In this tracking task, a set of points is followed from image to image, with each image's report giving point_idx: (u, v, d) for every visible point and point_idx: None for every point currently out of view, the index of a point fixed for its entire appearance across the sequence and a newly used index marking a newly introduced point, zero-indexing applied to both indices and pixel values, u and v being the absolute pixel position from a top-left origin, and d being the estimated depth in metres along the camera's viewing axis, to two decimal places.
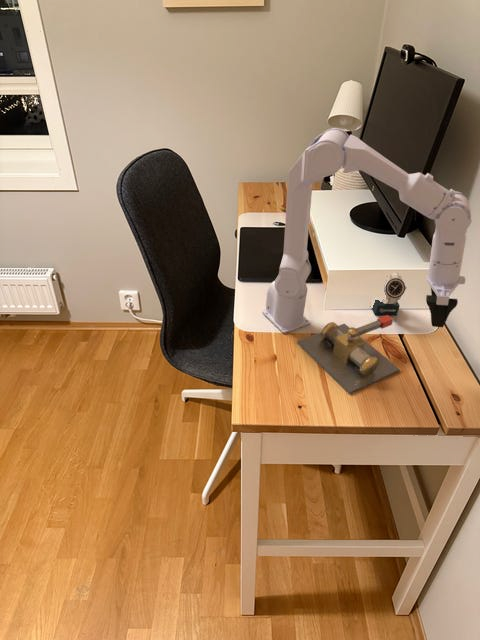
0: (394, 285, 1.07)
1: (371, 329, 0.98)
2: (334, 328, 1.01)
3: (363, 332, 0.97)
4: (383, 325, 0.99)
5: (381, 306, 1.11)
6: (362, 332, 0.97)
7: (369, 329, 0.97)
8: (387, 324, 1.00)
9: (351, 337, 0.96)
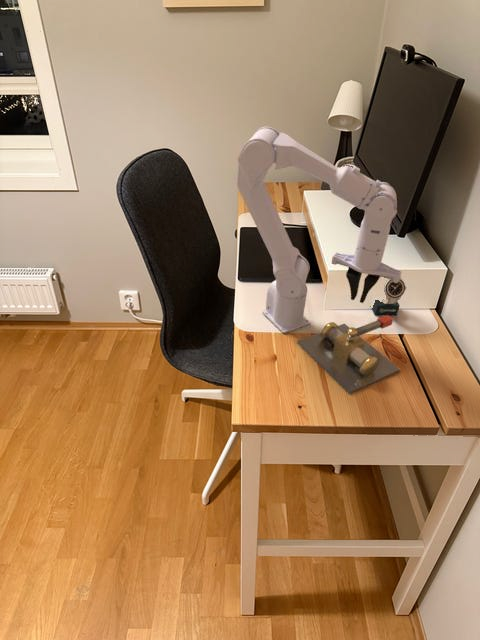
0: (394, 285, 1.07)
1: (371, 329, 0.98)
2: (334, 328, 1.01)
3: (363, 332, 0.97)
4: (383, 325, 0.99)
5: (381, 306, 1.11)
6: (362, 332, 0.97)
7: (369, 329, 0.97)
8: (387, 324, 1.00)
9: (351, 337, 0.96)
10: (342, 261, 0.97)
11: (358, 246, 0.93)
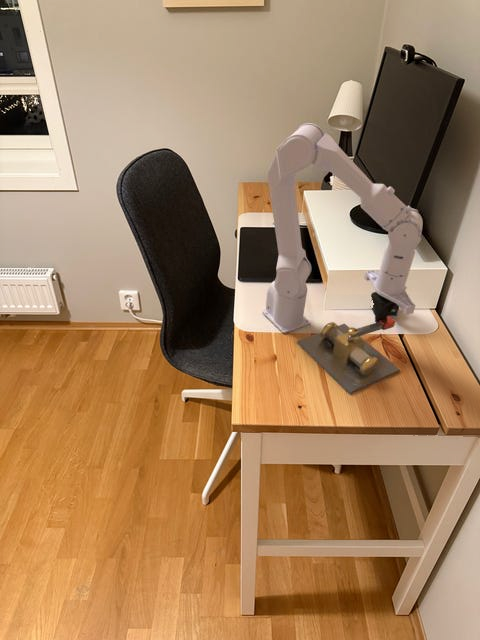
0: None
1: (372, 330, 0.98)
2: (334, 328, 1.01)
3: (363, 333, 0.97)
4: (385, 326, 0.99)
5: None
6: (362, 333, 0.97)
7: (369, 330, 0.97)
8: (389, 326, 0.99)
9: (351, 337, 0.96)
10: (370, 278, 0.99)
11: None
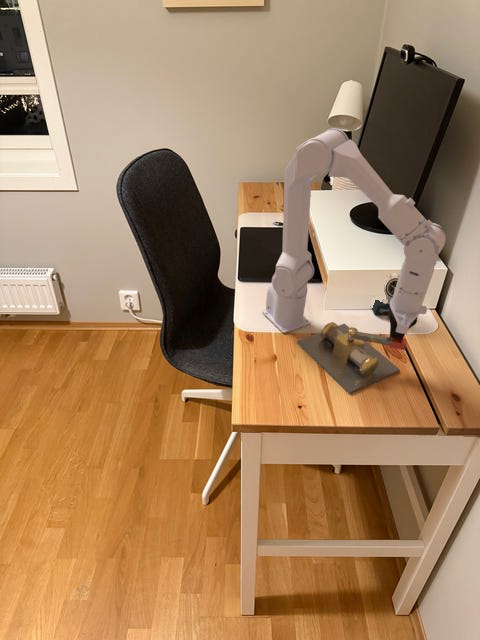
0: (394, 285, 1.07)
1: (376, 341, 0.95)
2: (334, 328, 1.01)
3: (364, 338, 0.95)
4: (392, 344, 0.94)
5: (381, 306, 1.11)
6: (363, 338, 0.95)
7: (372, 339, 0.95)
8: (398, 346, 0.94)
9: (349, 336, 0.96)
10: None
11: None
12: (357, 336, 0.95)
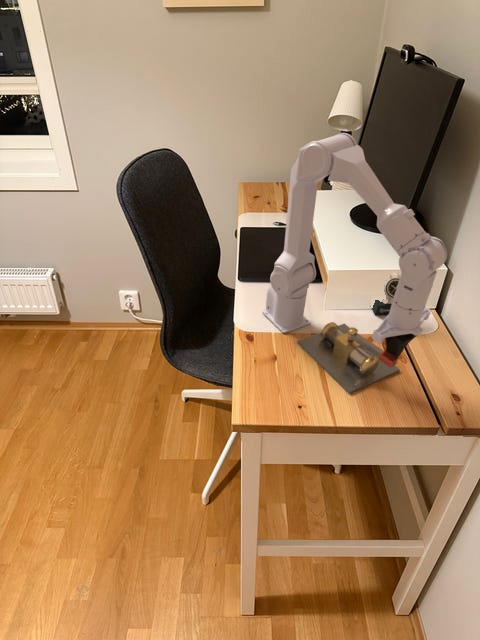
0: (394, 285, 1.07)
1: (368, 348, 0.93)
2: (334, 328, 1.01)
3: (360, 342, 0.94)
4: (380, 357, 0.91)
5: (381, 306, 1.11)
6: (359, 341, 0.94)
7: (365, 345, 0.93)
8: (385, 361, 0.90)
9: (349, 335, 0.96)
10: None
11: None
12: (354, 337, 0.95)
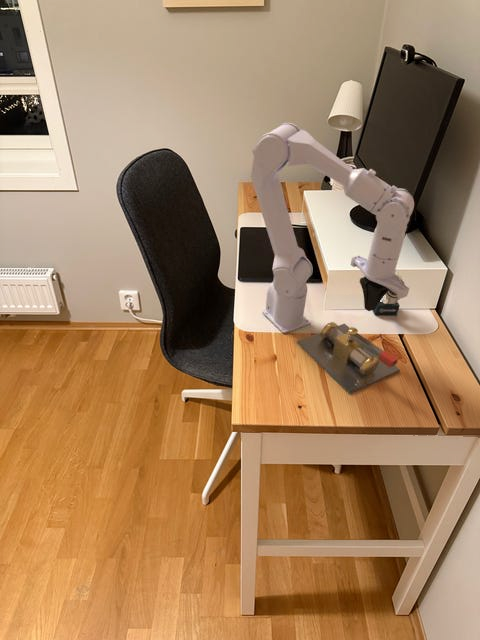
0: None
1: (368, 348, 0.93)
2: (334, 328, 1.01)
3: (360, 342, 0.94)
4: (380, 357, 0.91)
5: (381, 306, 1.11)
6: (358, 341, 0.94)
7: (365, 345, 0.93)
8: (385, 361, 0.90)
9: (349, 335, 0.96)
10: (357, 264, 0.95)
11: None
12: (354, 337, 0.95)
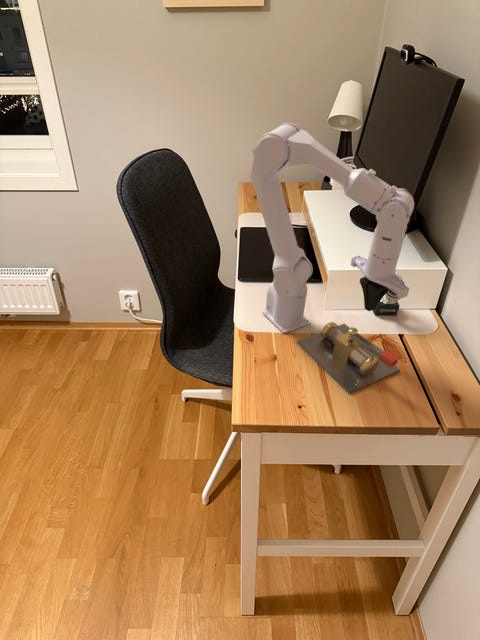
0: None
1: (368, 348, 0.93)
2: (334, 328, 1.01)
3: (360, 342, 0.94)
4: (380, 357, 0.91)
5: (381, 306, 1.11)
6: (358, 341, 0.94)
7: (365, 345, 0.93)
8: (385, 361, 0.90)
9: (349, 335, 0.96)
10: (357, 264, 0.95)
11: None
12: (354, 337, 0.95)
